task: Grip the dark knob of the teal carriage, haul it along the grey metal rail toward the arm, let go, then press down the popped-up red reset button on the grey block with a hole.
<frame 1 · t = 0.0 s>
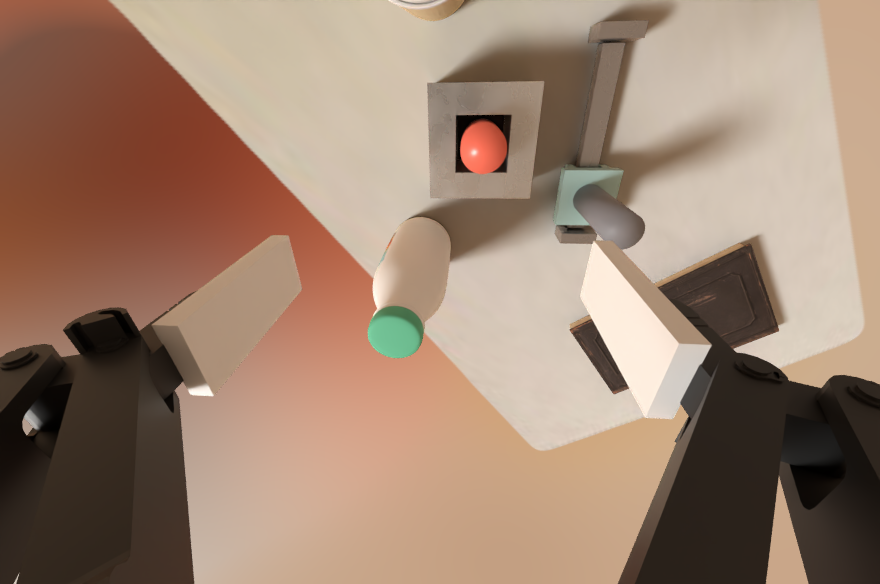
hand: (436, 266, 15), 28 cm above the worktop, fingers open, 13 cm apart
carriage: (598, 208, 34), point 7 cm above the worktop, slide at 0.0 cm
rail: (588, 145, 37), on the worktop
grey block with hole: (479, 136, 37), on the worktop
reset button: (482, 144, 31), point 7 cm above the worktop, slide at 0.0 cm
milk bottle: (422, 242, 45), on the worktop
hardcover book: (663, 321, 49), on the worktop
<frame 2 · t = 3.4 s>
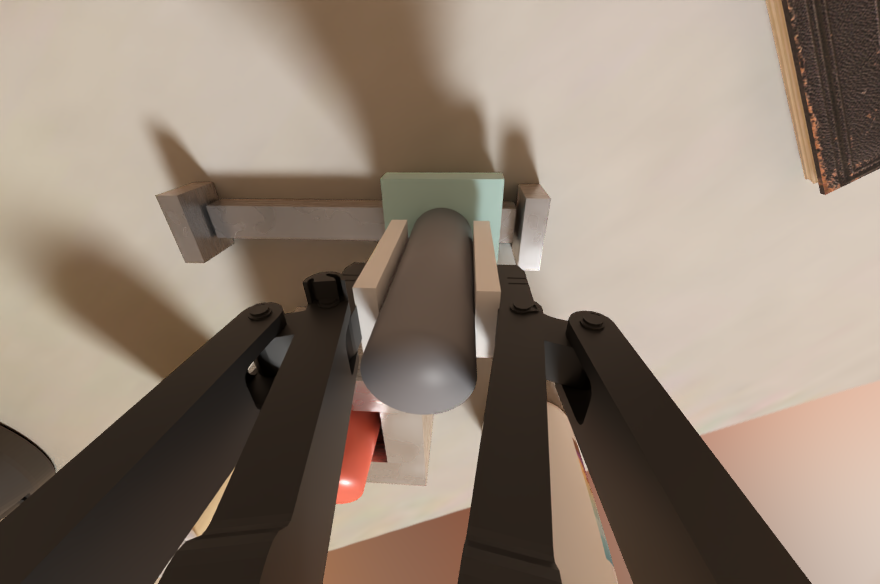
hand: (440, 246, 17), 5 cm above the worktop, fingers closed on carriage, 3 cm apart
carriage: (436, 266, 15), point 7 cm above the worktop, slide at 0.0 cm, touching gripper
rail: (365, 215, 21), on the worktop
coffee cup: (228, 393, 31), on the worktop
grey block with hole: (371, 360, 27), on the worktop
reset button: (344, 436, 21), point 7 cm above the worktop, slide at 0.0 cm
milk bottle: (524, 423, 30), on the worktop
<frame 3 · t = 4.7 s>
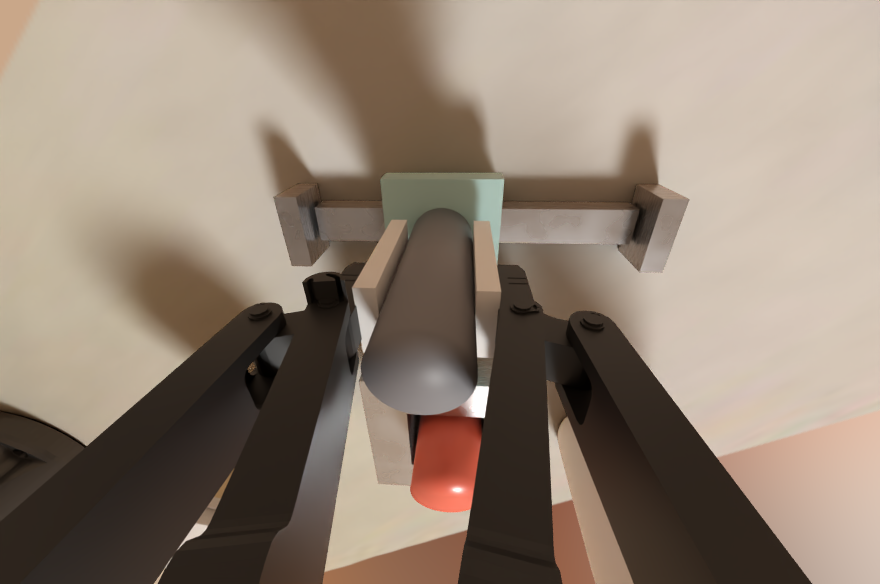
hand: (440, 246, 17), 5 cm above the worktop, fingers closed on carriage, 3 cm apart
carriage: (437, 267, 15), point 7 cm above the worktop, slide at 6.6 cm, touching gripper
rail: (471, 217, 20), on the worktop
coffee cup: (298, 397, 30), on the worktop
grey block with hole: (453, 363, 27), on the worktop
reset button: (449, 443, 21), point 7 cm above the worktop, slide at 0.0 cm
milk bottle: (600, 426, 30), on the worktop
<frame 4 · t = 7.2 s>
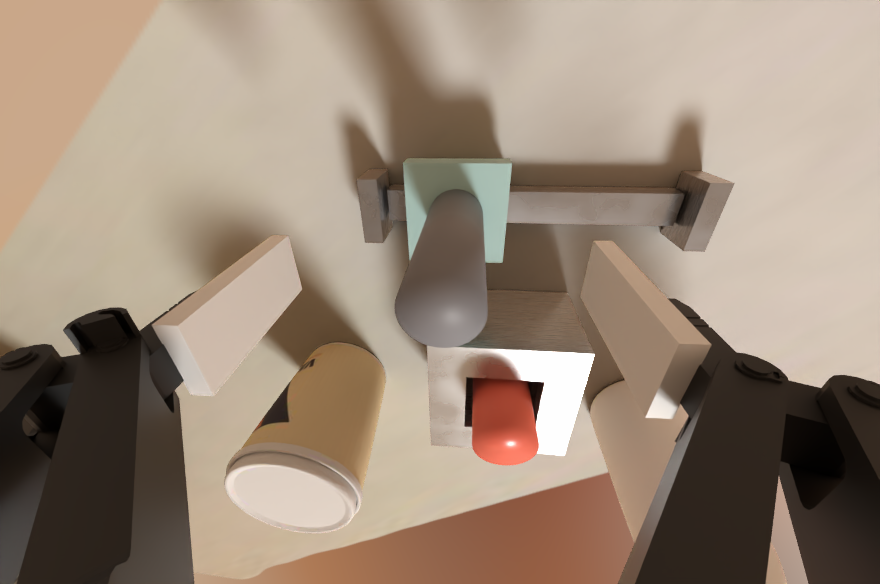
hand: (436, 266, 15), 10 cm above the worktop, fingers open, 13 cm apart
carriage: (452, 238, 17), point 7 cm above the worktop, slide at 9.5 cm
rail: (525, 201, 22), on the worktop
coffee cup: (348, 370, 33), on the worktop
grey block with hole: (496, 339, 29), on the worktop
reset button: (502, 405, 23), point 7 cm above the worktop, slide at 0.0 cm
milk bottle: (630, 403, 32), on the worktop
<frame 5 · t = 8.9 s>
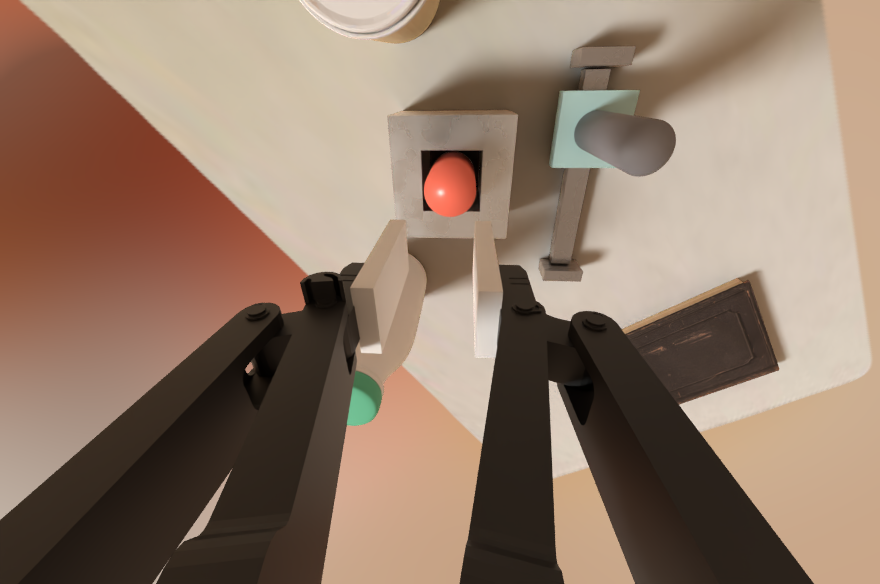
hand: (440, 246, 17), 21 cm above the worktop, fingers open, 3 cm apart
carriage: (607, 136, 26), point 7 cm above the worktop, slide at 9.5 cm
rail: (572, 176, 34), on the worktop
grey block with hole: (454, 166, 34), on the worktop
reset button: (451, 182, 28), point 7 cm above the worktop, slide at 0.0 cm
milk bottle: (396, 275, 42), on the worktop
hardcover book: (656, 356, 46), on the worktop
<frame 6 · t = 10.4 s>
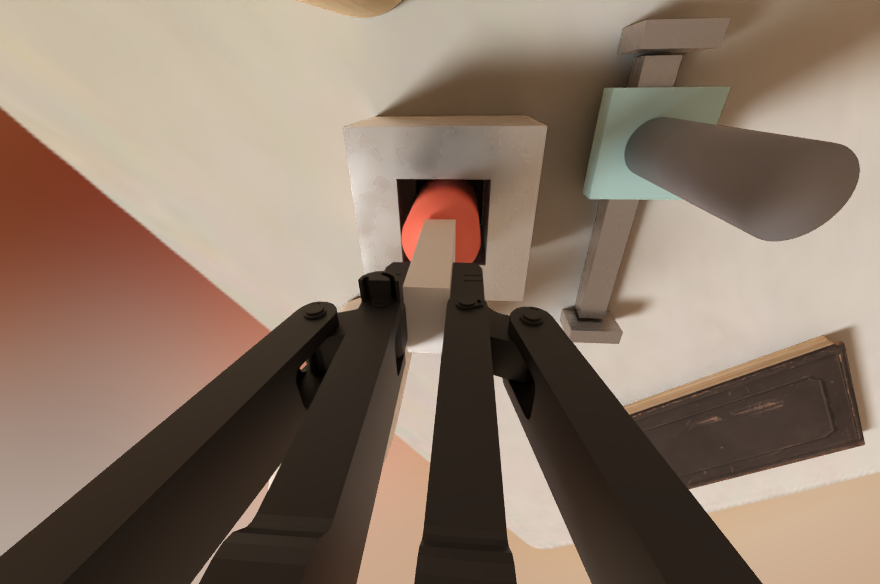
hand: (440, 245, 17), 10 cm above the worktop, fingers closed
carriage: (686, 158, 17), point 7 cm above the worktop, slide at 9.5 cm
rail: (612, 206, 25), on the worktop
grey block with hole: (449, 191, 25), on the worktop
reset button: (444, 220, 20), point 6 cm above the worktop, slide at -0.7 cm, touching gripper
milk bottle: (376, 326, 32), on the worktop
hardcover book: (703, 421, 37), on the worktop
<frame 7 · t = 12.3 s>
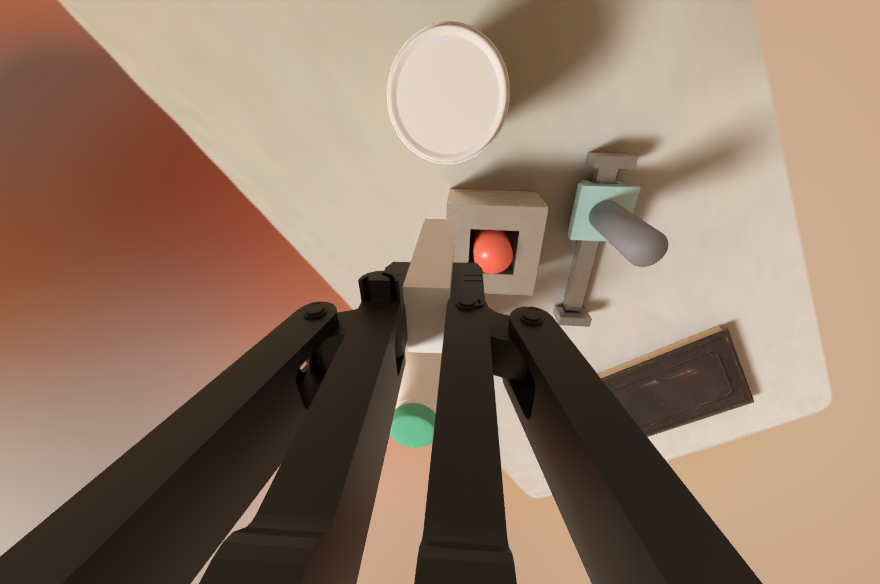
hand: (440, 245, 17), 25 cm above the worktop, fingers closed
carriage: (616, 224, 34), point 7 cm above the worktop, slide at 9.5 cm
rail: (585, 242, 42), on the worktop
coffee cup: (452, 100, 35), on the worktop
grey block with hole: (488, 231, 42), on the worktop
reset button: (491, 245, 37), point 5 cm above the worktop, slide at -2.0 cm
milk bottle: (432, 314, 49), on the worktop
hardcover book: (650, 387, 53), on the worktop
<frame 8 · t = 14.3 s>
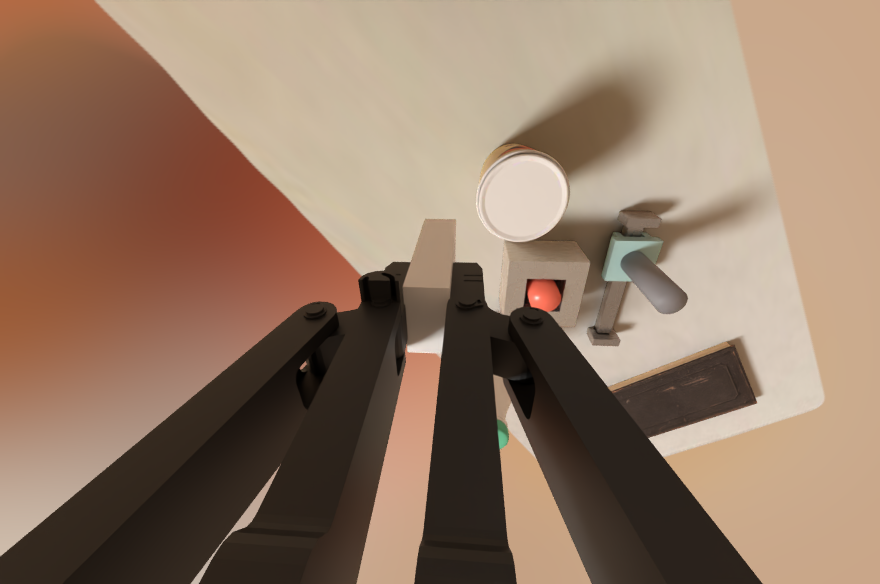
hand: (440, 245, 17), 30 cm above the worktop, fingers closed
carriage: (644, 273, 42), point 7 cm above the worktop, slide at 9.5 cm
rail: (615, 279, 50), on the worktop
coffee cup: (510, 174, 44), on the worktop
grey block with hole: (534, 271, 51), on the worktop
reset button: (541, 288, 46), point 5 cm above the worktop, slide at -2.0 cm
milk bottle: (483, 336, 58), on the worktop
hardcover book: (667, 391, 62), on the worktop
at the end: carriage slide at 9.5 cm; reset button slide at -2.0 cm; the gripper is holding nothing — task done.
